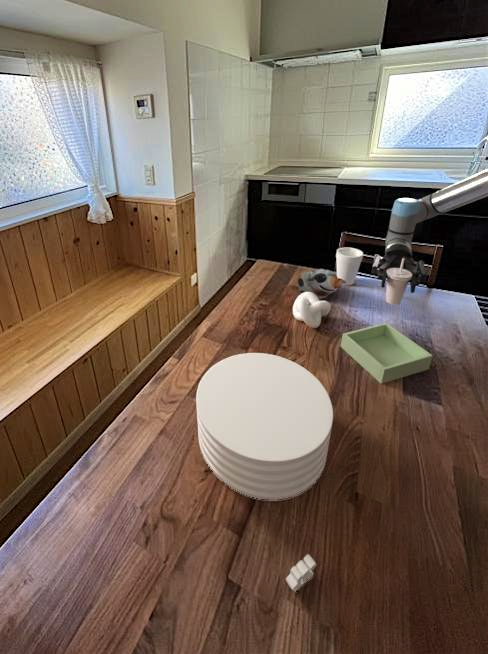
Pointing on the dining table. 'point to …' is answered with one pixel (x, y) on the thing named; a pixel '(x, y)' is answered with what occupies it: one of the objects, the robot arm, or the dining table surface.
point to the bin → (385, 352)
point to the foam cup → (348, 263)
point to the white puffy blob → (310, 309)
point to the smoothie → (397, 283)
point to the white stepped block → (301, 573)
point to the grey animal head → (319, 282)
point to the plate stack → (263, 425)
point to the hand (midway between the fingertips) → (398, 285)
